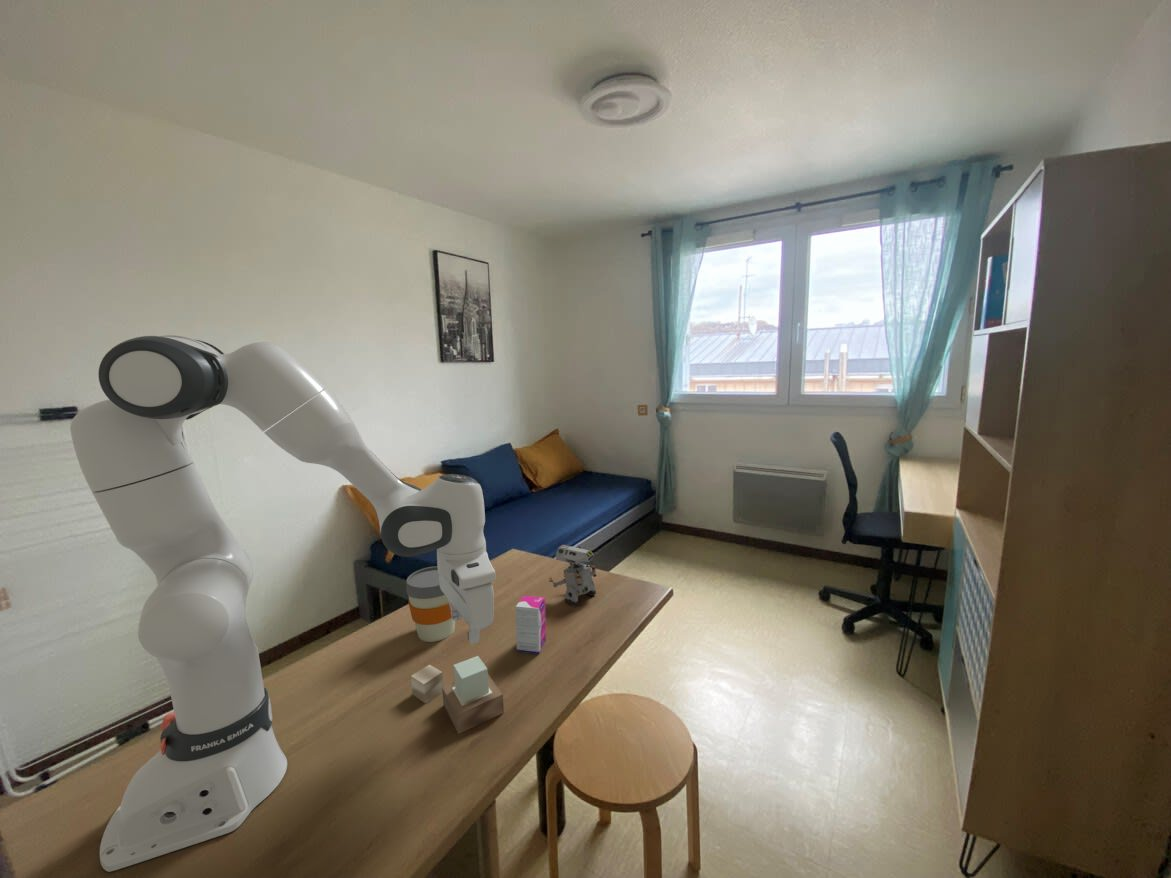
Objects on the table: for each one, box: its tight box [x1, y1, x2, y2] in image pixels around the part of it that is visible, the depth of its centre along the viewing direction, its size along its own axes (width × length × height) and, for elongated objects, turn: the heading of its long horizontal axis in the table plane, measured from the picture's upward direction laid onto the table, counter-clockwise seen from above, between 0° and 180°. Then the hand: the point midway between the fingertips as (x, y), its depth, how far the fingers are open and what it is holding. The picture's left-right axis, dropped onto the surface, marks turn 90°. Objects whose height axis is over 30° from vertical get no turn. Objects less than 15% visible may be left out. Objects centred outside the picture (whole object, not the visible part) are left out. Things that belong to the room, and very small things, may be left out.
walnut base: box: [442, 673, 505, 735], centre depth 91 cm, size 9×9×4 cm
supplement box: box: [515, 595, 547, 655], centre depth 111 cm, size 6×6×12 cm
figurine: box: [548, 544, 597, 607], centre depth 134 cm, size 9×12×15 cm
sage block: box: [452, 655, 489, 703], centre depth 91 cm, size 5×5×5 cm
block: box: [410, 664, 444, 704], centre depth 96 cm, size 4×4×4 cm
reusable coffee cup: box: [406, 565, 456, 643], centre depth 118 cm, size 13×13×15 cm
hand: (464, 629), depth 89 cm, fingers open, 8 cm apart
